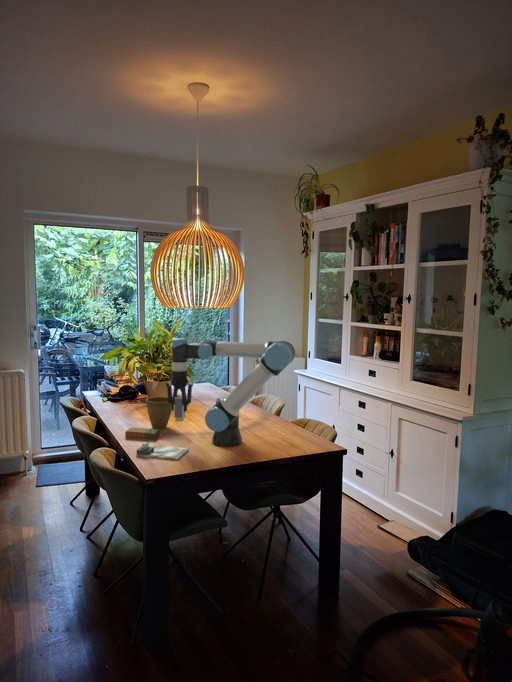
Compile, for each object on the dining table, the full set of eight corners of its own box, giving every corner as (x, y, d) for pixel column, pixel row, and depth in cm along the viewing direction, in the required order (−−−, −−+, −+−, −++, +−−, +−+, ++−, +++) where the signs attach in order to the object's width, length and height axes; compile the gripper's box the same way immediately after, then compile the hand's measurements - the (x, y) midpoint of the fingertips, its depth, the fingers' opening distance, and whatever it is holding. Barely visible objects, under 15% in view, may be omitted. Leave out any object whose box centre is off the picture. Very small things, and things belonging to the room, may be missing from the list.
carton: (131, 434, 265) (131, 426, 264) (160, 436, 262) (160, 428, 262) (125, 439, 256) (125, 431, 256) (155, 441, 254) (155, 433, 254)
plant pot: (156, 433, 267) (157, 403, 266) (140, 427, 277) (140, 399, 276) (178, 427, 278) (179, 399, 276) (162, 422, 288) (162, 395, 286)
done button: (149, 448, 234) (149, 442, 233) (147, 450, 231) (147, 444, 230) (143, 448, 234) (143, 441, 234) (140, 450, 231) (140, 443, 231)
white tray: (188, 450, 241) (188, 444, 240) (177, 460, 226) (177, 454, 226) (149, 446, 245) (149, 440, 244) (136, 456, 230) (136, 449, 230)
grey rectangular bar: (184, 419, 246) (184, 396, 245) (181, 421, 242) (181, 397, 241) (177, 419, 247) (177, 395, 245) (174, 421, 243) (174, 397, 242)
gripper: (198, 369, 244) (198, 416, 246) (166, 368, 247) (166, 414, 250) (193, 372, 236) (193, 420, 239) (160, 370, 240) (160, 418, 242)
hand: (179, 417), depth 244 cm, fingers closed on grey rectangular bar, 3 cm apart
